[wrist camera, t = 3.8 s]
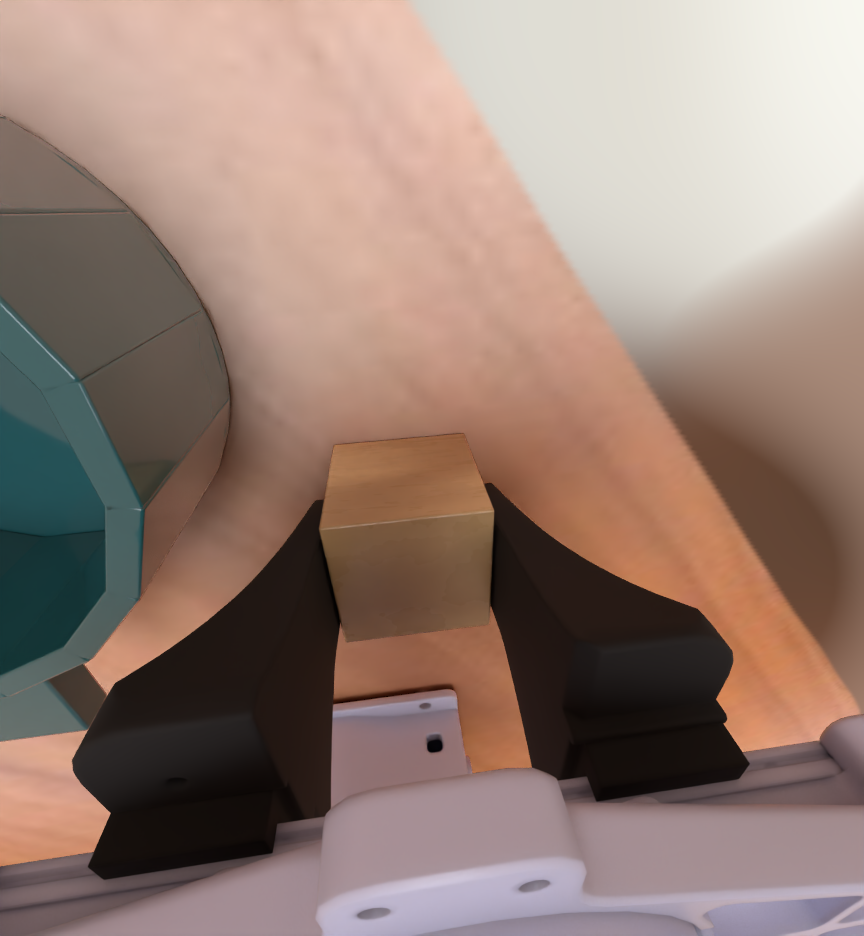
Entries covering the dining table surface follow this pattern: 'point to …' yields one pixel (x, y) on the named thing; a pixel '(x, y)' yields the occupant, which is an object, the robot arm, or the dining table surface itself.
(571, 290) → the dining table surface
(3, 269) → the pot
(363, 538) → the block
